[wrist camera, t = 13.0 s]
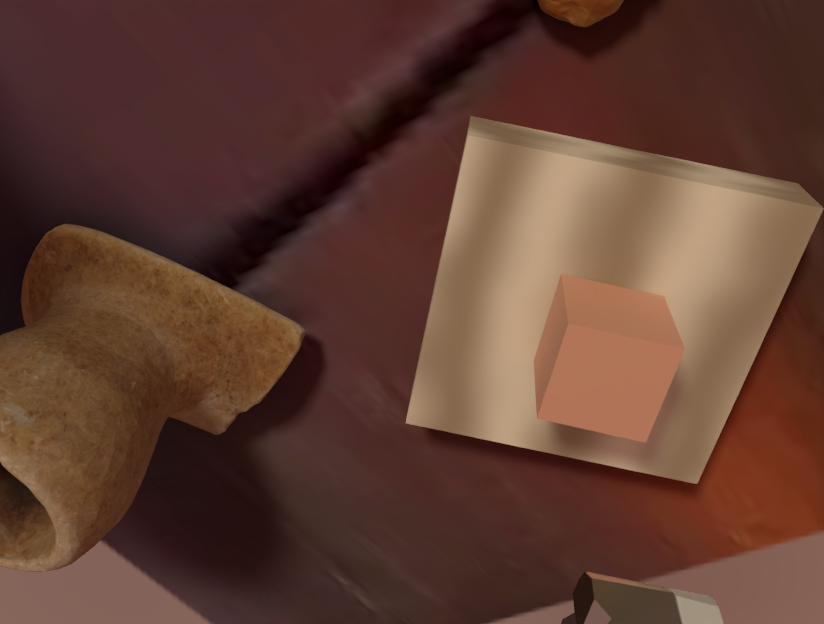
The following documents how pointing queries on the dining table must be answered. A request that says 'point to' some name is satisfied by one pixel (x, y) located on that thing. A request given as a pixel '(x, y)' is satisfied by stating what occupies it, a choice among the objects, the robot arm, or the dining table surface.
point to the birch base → (608, 263)
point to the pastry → (580, 10)
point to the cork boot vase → (114, 383)
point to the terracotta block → (605, 358)
